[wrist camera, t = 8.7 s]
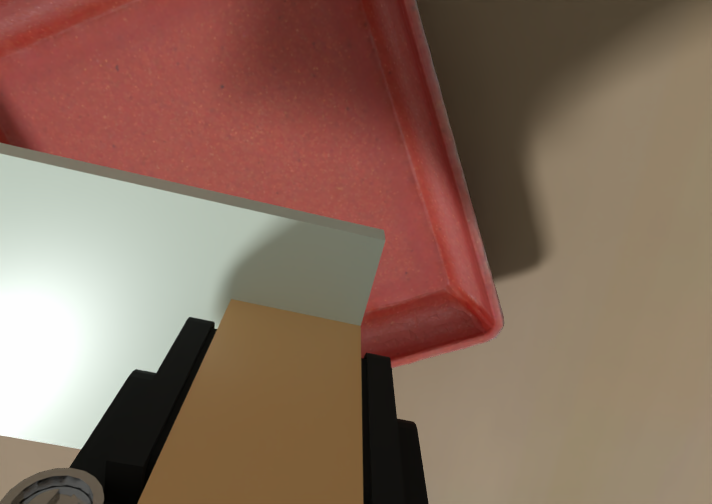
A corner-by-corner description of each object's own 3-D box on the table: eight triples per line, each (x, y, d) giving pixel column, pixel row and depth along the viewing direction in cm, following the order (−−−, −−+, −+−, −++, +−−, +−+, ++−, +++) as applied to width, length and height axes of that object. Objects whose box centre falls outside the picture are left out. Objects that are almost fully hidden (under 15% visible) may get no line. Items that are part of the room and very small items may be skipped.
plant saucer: (-83, 42, 19) (-165, 46, 16) (363, -160, 16) (362, -200, 13) (152, 394, 26) (124, 443, 23) (492, 296, 23) (510, 337, 20)
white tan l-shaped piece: (-153, 100, 11) (-1100, 239, 4) (383, 223, 12) (421, 504, 5) (-107, 385, 14) (-578, 750, 7) (315, 460, 15) (280, 840, 8)
